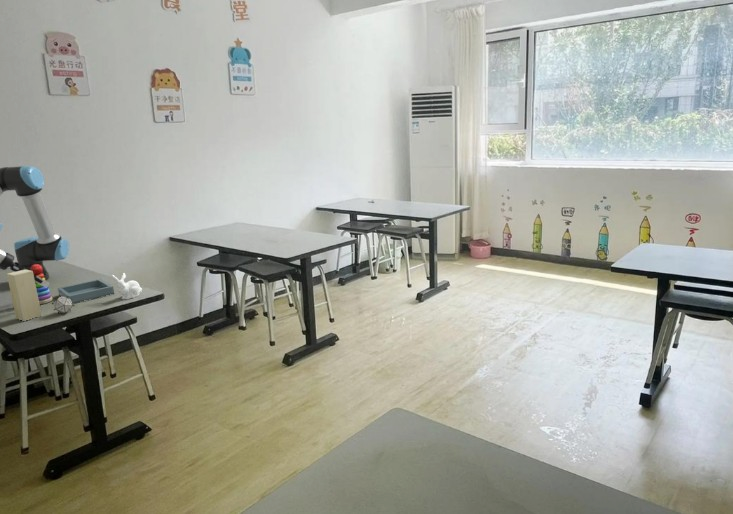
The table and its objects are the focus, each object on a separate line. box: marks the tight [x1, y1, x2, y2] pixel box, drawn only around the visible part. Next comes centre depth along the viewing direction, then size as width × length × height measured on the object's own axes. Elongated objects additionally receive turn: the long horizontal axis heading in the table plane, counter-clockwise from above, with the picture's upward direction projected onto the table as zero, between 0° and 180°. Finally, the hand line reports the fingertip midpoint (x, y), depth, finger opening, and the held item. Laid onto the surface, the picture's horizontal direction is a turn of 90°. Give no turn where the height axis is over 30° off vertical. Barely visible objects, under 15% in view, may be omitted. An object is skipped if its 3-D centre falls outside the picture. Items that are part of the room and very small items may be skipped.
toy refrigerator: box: [6, 270, 42, 322], centre depth 239 cm, size 8×7×21 cm
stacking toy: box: [30, 264, 53, 305], centre depth 260 cm, size 8×8×19 cm
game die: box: [51, 295, 76, 315], centre depth 245 cm, size 9×8×10 cm
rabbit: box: [111, 272, 143, 300], centre depth 263 cm, size 12×9×12 cm
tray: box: [57, 278, 115, 305], centre depth 270 cm, size 20×20×4 cm
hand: (44, 282), depth 261 cm, fingers open, 13 cm apart
